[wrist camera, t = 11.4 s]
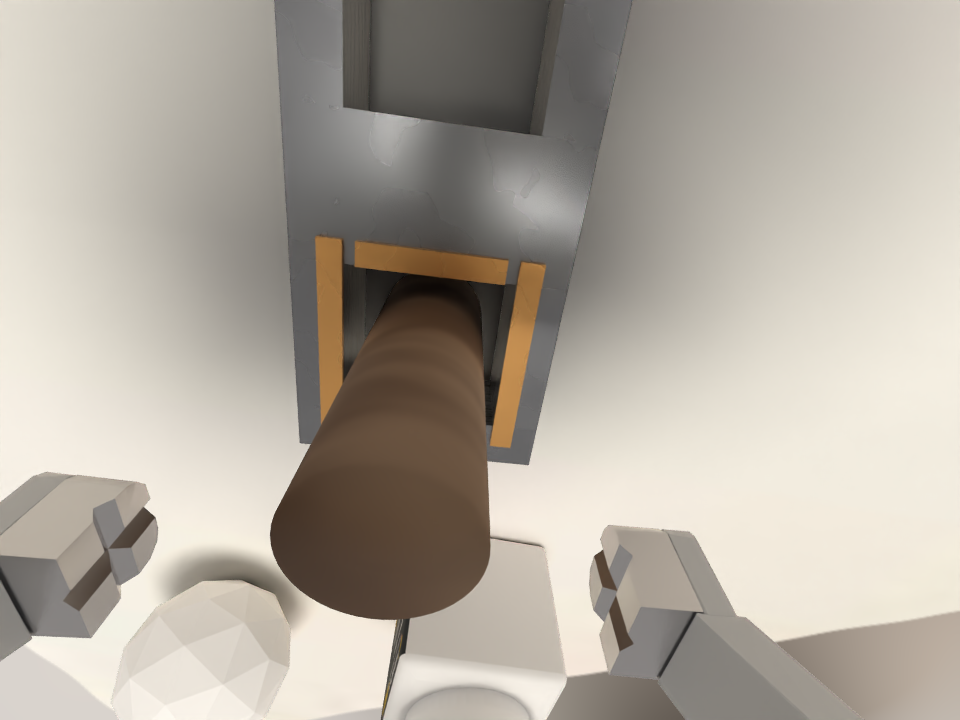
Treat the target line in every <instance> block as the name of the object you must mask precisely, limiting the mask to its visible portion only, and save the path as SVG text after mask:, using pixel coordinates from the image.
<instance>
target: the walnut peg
mask: <svg viewBox="0 0 960 720" xmlns="http://www.w3.org/2000/svg"><path fill="white" fill-rule="evenodd" d="M270 539H271V547H272V551H273V555H274V557H275V559H276V561H277V564H278V565H279V567H280V568H281V570H282V572H283V573H284V574H285V576H286V577H287V578H288V579H289V580H290V581H291V583H293V584H294V585H295V586H296V587H297V588H298V589H299V590H300V591H302V592H303V593H304V594H306V595H307V596H309V597H310V598H312V599H314V600H315V601H317V602H319V603H320V604H323V605H325V606H327V607H329V608H331V609H334V610H337V611H340V612H343V613H346V614H350V615H354V616H358V617H364V618H370V619H381V620H398V619H409V618H415V617H421V616H425V615H428V614H432V613H435V612H438V611H440V610H443V609H445V608H447V607H449V606H451V605H453V604H455V603H456V602H458V601H459V600H461V599H462V598H464V597H465V596H466V595H467V594H469V593H470V592H471V591H472V590H473V589H474V588H475V586H476V585H477V584H478V583H479V582H480V580H481V578H482V577H483V575H484V573H485V571H486V569H487V566H488V563H489V558H490V547H491V544H490V518H489V493H488V468H487V442H486V417H485V392H484V366H483V341H482V315H481V306H480V302H479V300H478V297H477V295H476V293H475V292H474V290H473V289H472V287H471V286H470V285H469V284H468V283H467V282H466V281H465V280H458V279H450V278H442V277H434V276H426V275H417V274H408V275H406V276H405V277H403V278H402V279H401V280H399V281H398V283H397V284H396V285H395V286H394V287H393V289H392V290H391V292H390V294H389V296H388V298H387V300H386V302H385V304H384V306H383V307H382V309H381V311H380V313H379V315H378V317H377V319H376V321H375V323H374V325H373V327H372V328H371V330H370V332H369V334H368V336H367V338H366V340H365V342H364V344H363V346H362V348H361V350H360V351H359V353H358V355H357V357H356V359H355V361H354V363H353V365H352V367H351V369H350V371H349V372H348V374H347V376H346V378H345V380H344V382H343V384H342V386H341V388H340V390H339V392H338V393H337V395H336V397H335V399H334V401H333V403H332V405H331V407H330V409H329V411H328V413H327V414H326V416H325V418H324V420H323V422H322V424H321V426H320V428H319V430H318V432H317V434H316V435H315V437H314V439H313V441H312V443H311V445H310V447H309V449H308V451H307V453H306V455H305V457H304V458H303V460H302V462H301V464H300V466H299V468H298V470H297V472H296V474H295V476H294V478H293V479H292V481H291V483H290V485H289V487H288V489H287V491H286V493H285V495H284V497H283V499H282V500H281V502H280V504H279V506H278V508H277V510H276V512H275V514H274V517H273V520H272V523H271V531H270Z"/></svg>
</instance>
